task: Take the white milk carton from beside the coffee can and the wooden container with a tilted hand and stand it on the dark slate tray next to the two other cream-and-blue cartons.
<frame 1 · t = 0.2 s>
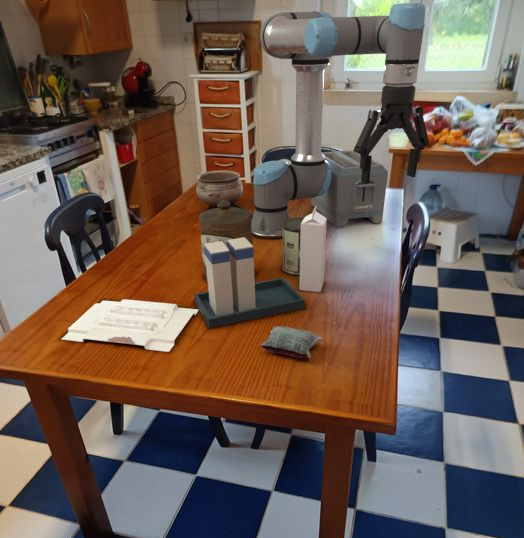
hand: (388, 179, 124), 28 cm above the table, tool pointing down, fingers open, 13 cm apart
carton b: (221, 309, 126), point 1 cm above the table, touching tray
toaster: (346, 215, 188), on the table
coffee can: (299, 268, 147), on the table
cooking pot: (220, 206, 201), on the table
milk: (311, 287, 137), on the table
tray: (248, 305, 128), on the table
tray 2: (133, 324, 122), on the table
wooden container: (229, 275, 145), on the table
carton a: (243, 304, 127), point 1 cm above the table, touching tray
packaged food: (291, 349, 110), on the table
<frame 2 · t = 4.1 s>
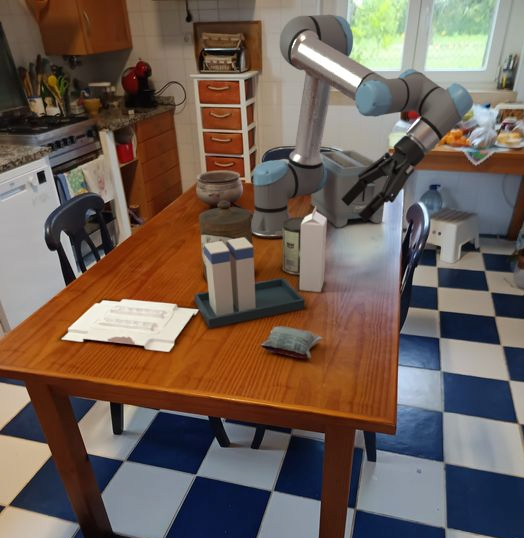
hand: (352, 210, 126), 21 cm above the table, tool tilted 45°, fingers open, 13 cm apart
nothing on the table moved.
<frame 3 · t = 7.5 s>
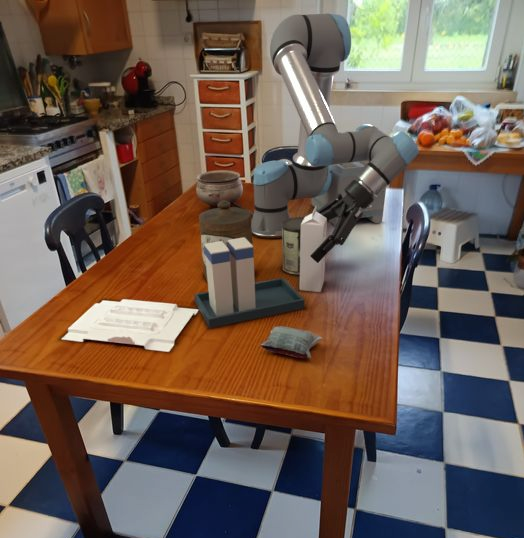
hand: (306, 250, 130), 11 cm above the table, tool tilted 45°, fingers open, 13 cm apart
coffee can: (299, 268, 147), on the table, touching gripper
everything else where it was.
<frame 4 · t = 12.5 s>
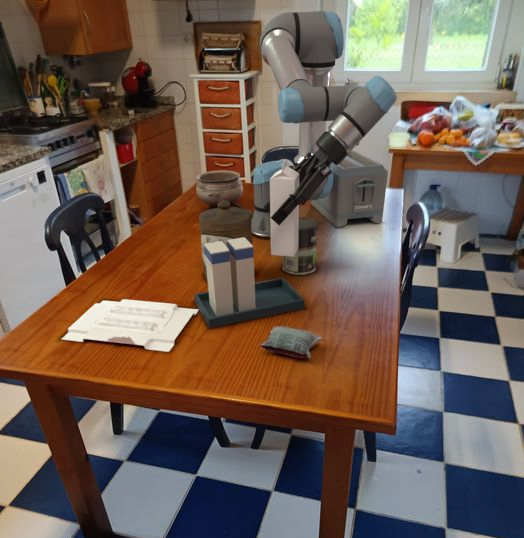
hand: (271, 216, 119), 23 cm above the table, tool tilted 45°, fingers closed on milk, 8 cm apart
coffee can: (299, 268, 147), on the table
milk: (284, 252, 125), point 13 cm above the table, touching gripper
everything else where it was.
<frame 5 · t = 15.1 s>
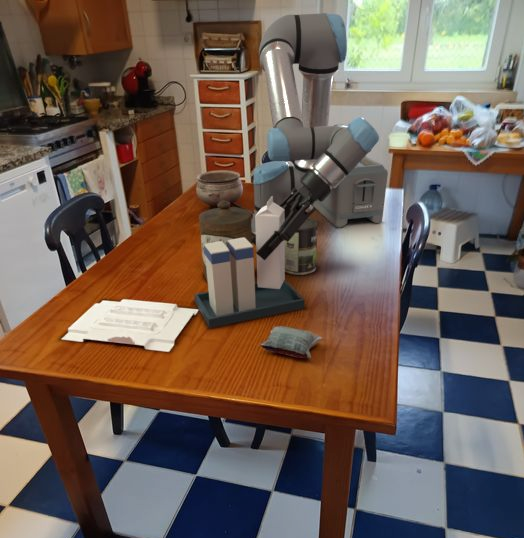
hand: (257, 250, 121), 15 cm above the table, tool tilted 45°, fingers closed on milk, 8 cm apart
milk: (271, 284, 127), point 5 cm above the table, touching gripper
everything else where it was.
when the fingers open (10 cm above the table, at t = 16.9 s): milk stays where it is, resting on tray.
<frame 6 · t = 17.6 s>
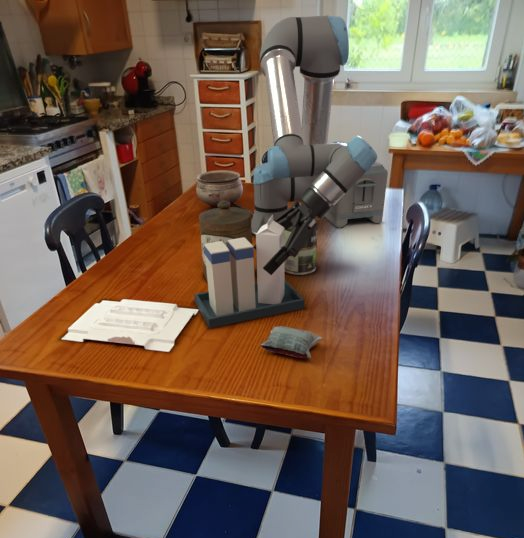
hand: (261, 260, 123), 12 cm above the table, tool tilted 45°, fingers open, 13 cm apart
milk: (271, 299, 130), resting on tray
everything else where it was.
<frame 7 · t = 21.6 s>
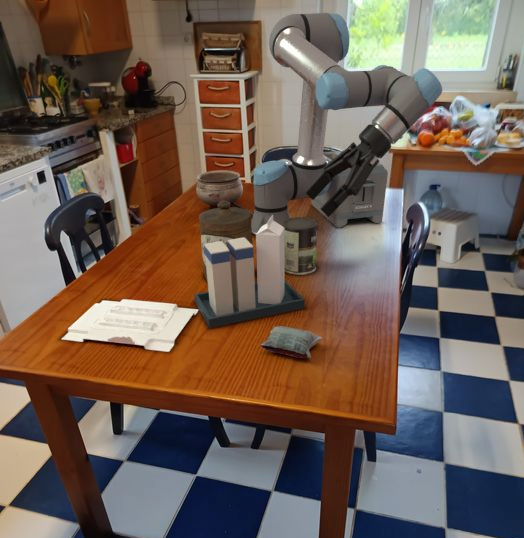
hand: (316, 204, 118), 25 cm above the table, tool tilted 45°, fingers open, 13 cm apart
nothing on the table moved.
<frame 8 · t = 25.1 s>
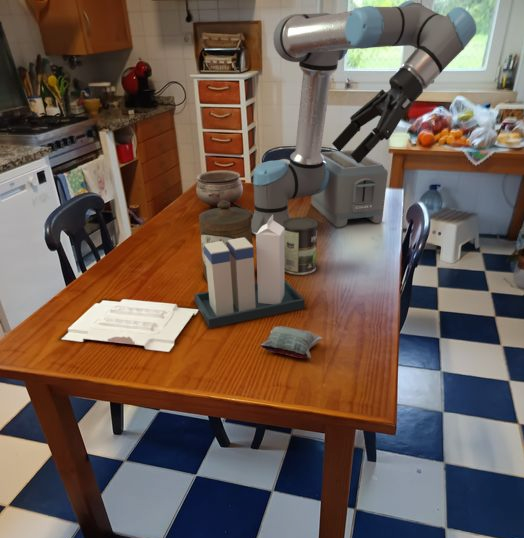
hand: (344, 153, 116), 36 cm above the table, tool tilted 45°, fingers open, 13 cm apart
nothing on the table moved.
at the end: milk inside the target area in the tray (0.2 cm from its centre), point 0.4 cm above the tray's base; milk tilted 0°; carton a tilted 0° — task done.
